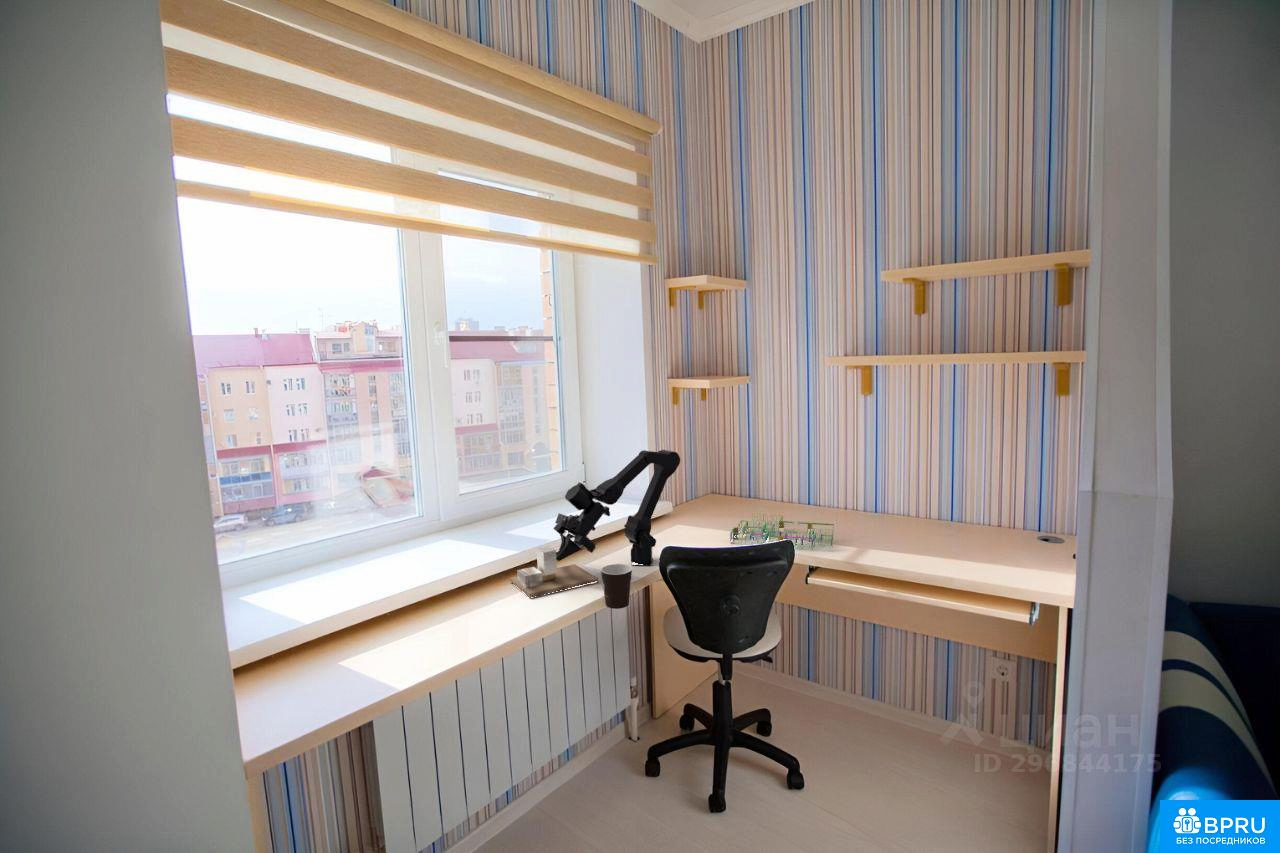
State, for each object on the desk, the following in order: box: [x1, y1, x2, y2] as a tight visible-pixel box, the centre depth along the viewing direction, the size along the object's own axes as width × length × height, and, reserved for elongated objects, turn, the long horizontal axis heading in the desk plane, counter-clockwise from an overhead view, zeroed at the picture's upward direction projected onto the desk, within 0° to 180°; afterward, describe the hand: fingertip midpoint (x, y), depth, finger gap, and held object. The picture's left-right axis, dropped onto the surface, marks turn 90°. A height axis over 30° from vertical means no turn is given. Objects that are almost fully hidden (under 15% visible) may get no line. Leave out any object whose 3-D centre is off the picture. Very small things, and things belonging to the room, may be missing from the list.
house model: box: [729, 513, 835, 547], centre depth 236 cm, size 35×30×5 cm
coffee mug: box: [600, 563, 633, 610], centre depth 176 cm, size 12×9×10 cm
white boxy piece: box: [536, 545, 558, 581], centre depth 190 cm, size 9×5×9 cm, turn 122°
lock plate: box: [509, 563, 599, 599], centre depth 193 cm, size 22×16×5 cm
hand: (557, 560), depth 193 cm, fingers closed
